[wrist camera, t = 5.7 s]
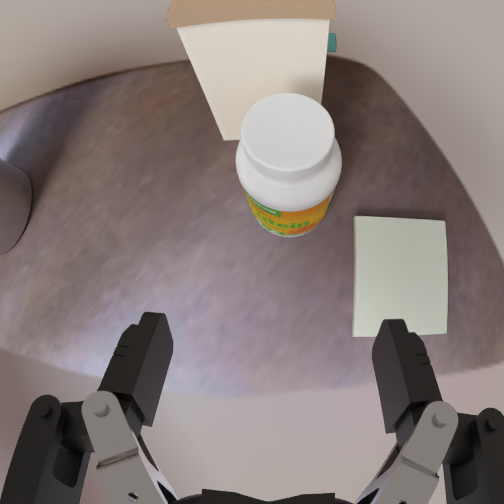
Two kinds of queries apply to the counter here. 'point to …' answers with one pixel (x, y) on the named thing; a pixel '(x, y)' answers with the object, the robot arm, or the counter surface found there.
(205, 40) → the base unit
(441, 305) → the plate
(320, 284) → the counter surface
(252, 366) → the counter surface
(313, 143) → the supplement bottle
